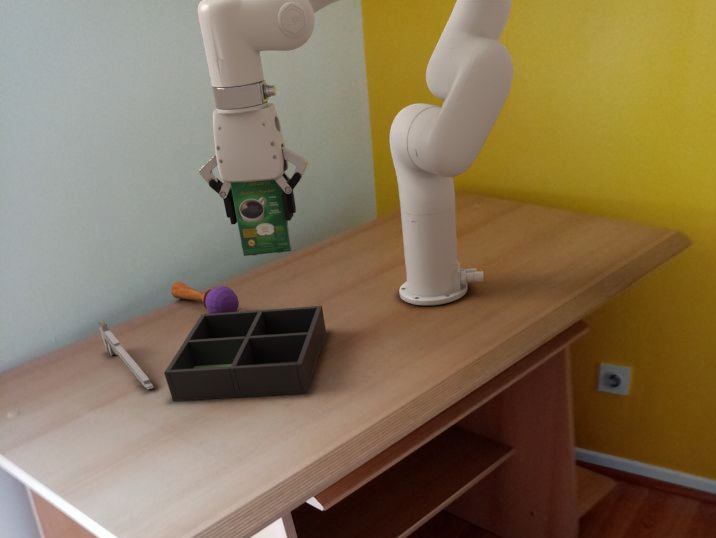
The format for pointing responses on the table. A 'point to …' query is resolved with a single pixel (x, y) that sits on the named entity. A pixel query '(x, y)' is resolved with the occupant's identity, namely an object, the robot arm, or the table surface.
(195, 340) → the organizer
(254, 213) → the coffee box
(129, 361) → the caliper
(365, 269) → the table surface
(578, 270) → the table surface
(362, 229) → the table surface
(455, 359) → the table surface
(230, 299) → the kendama
